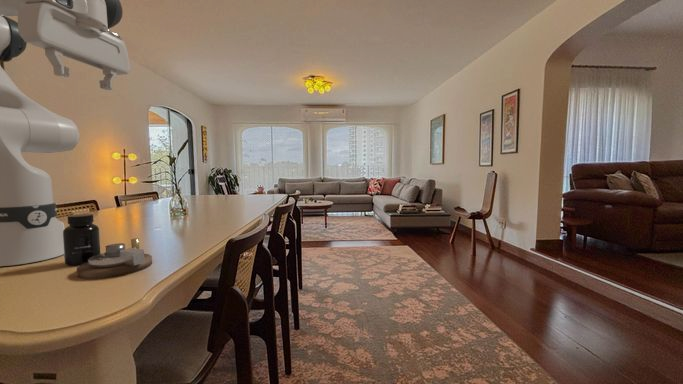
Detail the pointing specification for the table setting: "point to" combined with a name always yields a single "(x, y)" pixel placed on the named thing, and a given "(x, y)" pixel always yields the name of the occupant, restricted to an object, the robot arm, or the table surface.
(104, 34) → the robot arm
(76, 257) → the supplement bottle
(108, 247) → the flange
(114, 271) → the walnut base
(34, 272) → the table surface
